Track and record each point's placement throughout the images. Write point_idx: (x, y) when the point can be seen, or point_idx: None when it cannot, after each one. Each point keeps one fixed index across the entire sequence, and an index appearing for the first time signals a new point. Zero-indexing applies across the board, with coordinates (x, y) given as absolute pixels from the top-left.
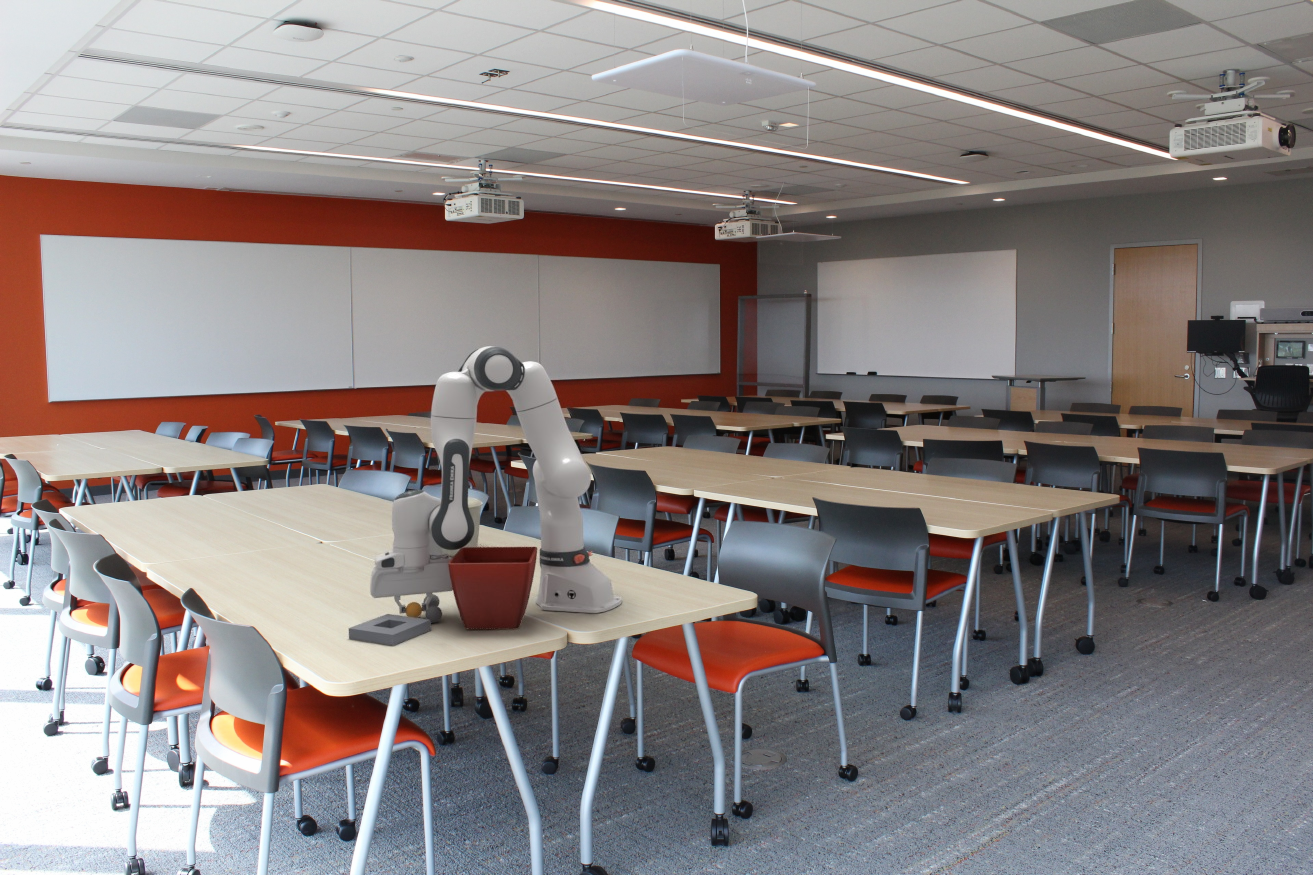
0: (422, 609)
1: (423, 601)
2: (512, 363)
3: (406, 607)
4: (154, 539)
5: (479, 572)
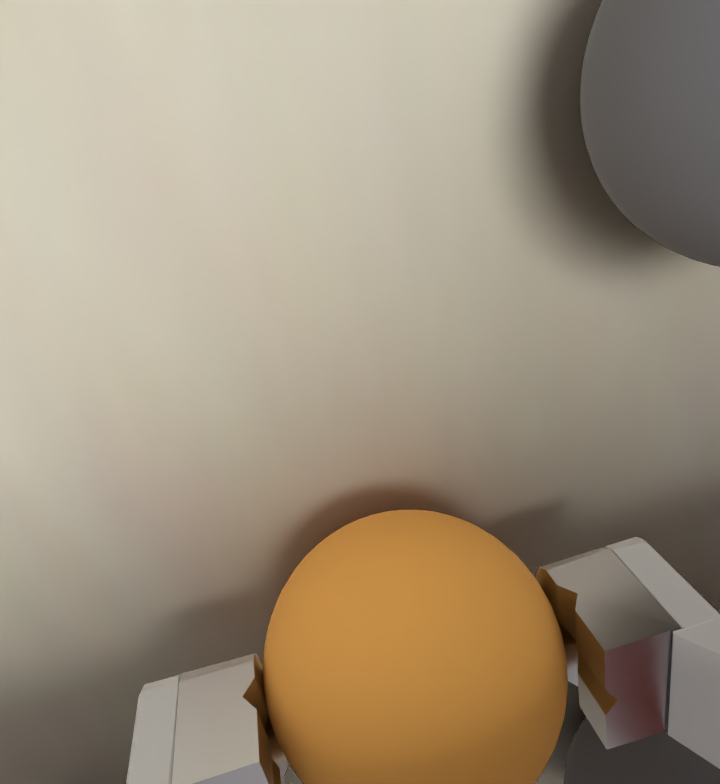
0: None
1: (627, 76)
2: None
3: (300, 778)
4: None
5: None
